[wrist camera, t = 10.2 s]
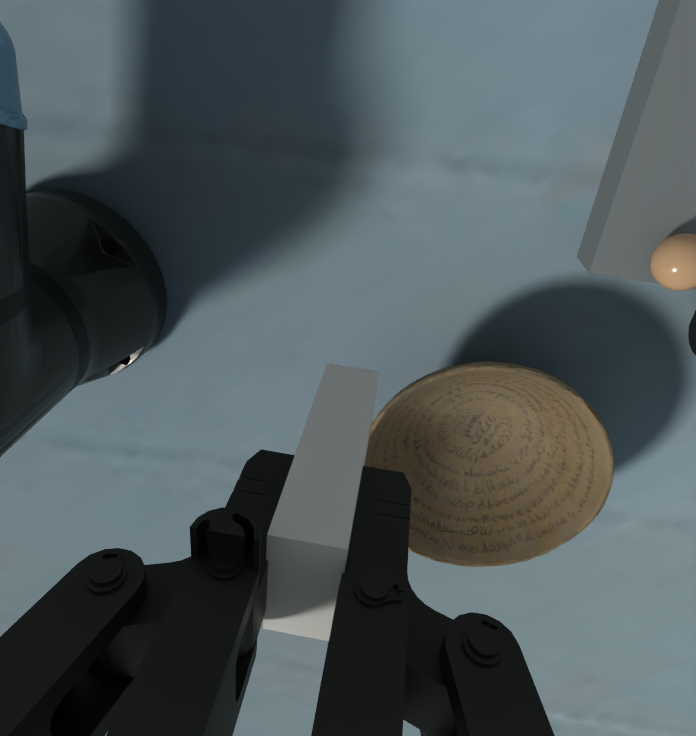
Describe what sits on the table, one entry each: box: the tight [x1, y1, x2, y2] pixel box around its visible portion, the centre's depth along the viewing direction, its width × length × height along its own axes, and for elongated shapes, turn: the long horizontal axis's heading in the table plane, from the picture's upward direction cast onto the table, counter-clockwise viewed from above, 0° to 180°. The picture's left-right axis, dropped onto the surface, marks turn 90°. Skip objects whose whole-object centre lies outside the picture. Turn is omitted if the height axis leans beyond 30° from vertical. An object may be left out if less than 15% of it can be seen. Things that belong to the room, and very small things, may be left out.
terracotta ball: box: [650, 233, 696, 291], centre depth 34 cm, size 3×3×3 cm
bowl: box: [364, 362, 614, 567], centre depth 44 cm, size 18×18×8 cm
